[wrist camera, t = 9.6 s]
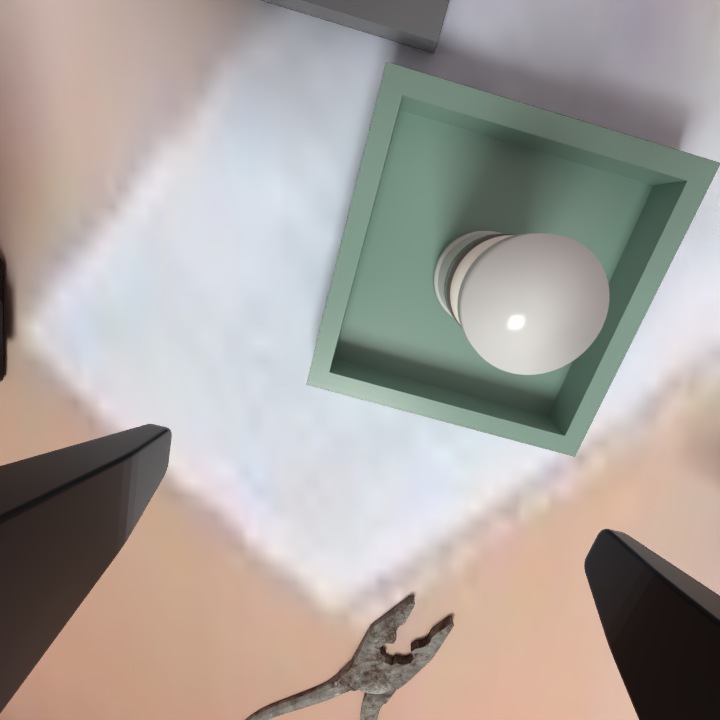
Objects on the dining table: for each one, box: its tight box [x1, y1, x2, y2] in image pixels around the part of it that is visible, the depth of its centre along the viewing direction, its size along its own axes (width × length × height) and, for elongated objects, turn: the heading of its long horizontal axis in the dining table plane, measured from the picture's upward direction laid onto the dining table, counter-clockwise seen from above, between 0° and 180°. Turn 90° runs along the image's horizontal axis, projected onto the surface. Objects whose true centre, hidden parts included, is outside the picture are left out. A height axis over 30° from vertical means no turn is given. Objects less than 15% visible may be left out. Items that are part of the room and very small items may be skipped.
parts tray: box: [306, 62, 720, 457], centre depth 17 cm, size 12×12×2 cm
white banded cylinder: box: [433, 231, 609, 375], centre depth 14 cm, size 4×4×7 cm
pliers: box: [247, 596, 454, 720], centre depth 27 cm, size 10×1×20 cm
